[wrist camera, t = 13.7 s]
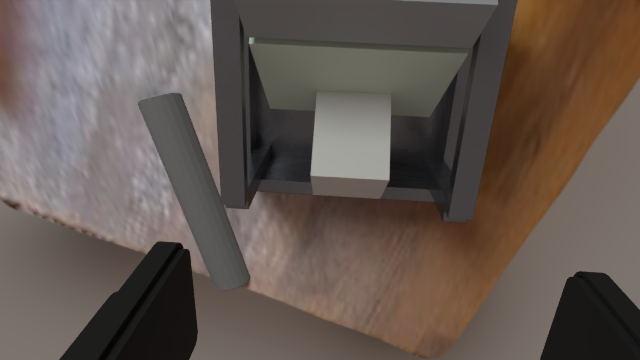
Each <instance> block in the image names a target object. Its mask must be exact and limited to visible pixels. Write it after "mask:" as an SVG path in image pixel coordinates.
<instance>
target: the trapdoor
mask: <svg viewBox="0 0 640 360" xmlns="http://www.w3.org/2000/svg"><path fill="white" fill-rule="evenodd" d="M234 1H235V4H236V7H237V10H238V13H239V16H240V19H241V22H242V25H243V28H244V31H245V34H246V37H249V46H250V49H251V52H252V55H253V58H254V61H255V64H256V67H257V70H258V73H259V76H260V79H261V82H262V85H263V88H264V91H265V94H266V97H267V100H268V103H269V107H270V109H286V110H305V111H315V109H316V96H317V91H333V92H352V93H371V94H390V95H391V115H398V116H416V117H430V116H431V114H432V113H433V111H434V109H435V108H436V106H437V104H438V103H439V101H440V99H441V98H442V96H443V94H444V93H445V91H446V90H447V88H448V86H449V85H450V83H451V81H452V80H453V78H454V76H455V75H456V73H457V71H458V70H459V68H460V67H461V65H462V63H463V62H464V60H465V58H466V57H467V55H468V48H472V47H473V45H474V44H475V42H476V40H477V39H478V37H479V35H480V34H481V32H482V30H483V29H484V27H485V26H486V24H487V22H488V21H489V19H490V17H491V16H492V14H493V12H494V11H495V9H496V7H497V6H498V0H234Z"/></svg>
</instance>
